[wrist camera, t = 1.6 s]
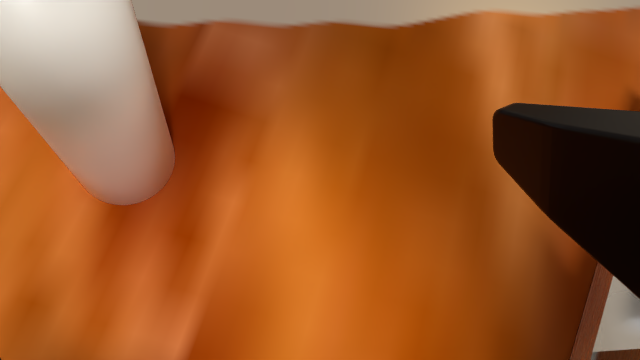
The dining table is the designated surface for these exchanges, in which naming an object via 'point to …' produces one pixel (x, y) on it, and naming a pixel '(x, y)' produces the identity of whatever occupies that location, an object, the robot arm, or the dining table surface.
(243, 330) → the dining table surface
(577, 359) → the jig
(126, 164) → the white tapered cylinder
